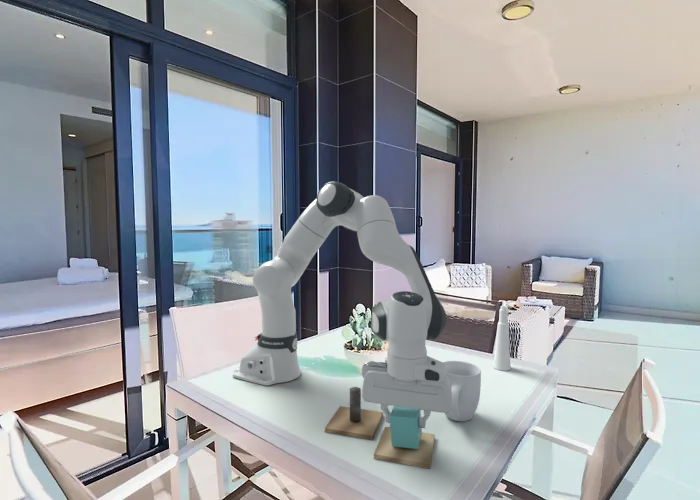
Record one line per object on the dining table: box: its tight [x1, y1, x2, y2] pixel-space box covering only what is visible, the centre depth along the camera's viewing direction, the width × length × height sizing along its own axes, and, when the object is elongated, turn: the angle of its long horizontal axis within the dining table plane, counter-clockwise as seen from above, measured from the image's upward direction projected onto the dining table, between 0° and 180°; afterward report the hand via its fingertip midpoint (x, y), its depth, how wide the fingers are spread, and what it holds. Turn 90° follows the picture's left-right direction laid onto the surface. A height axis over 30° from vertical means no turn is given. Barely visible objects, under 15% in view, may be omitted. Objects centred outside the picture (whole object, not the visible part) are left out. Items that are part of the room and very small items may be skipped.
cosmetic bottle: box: [492, 305, 512, 372], centre depth 138 cm, size 6×6×22 cm
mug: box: [443, 360, 482, 423], centre depth 103 cm, size 15×11×13 cm
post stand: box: [324, 386, 384, 441], centre depth 100 cm, size 12×12×9 cm
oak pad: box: [373, 426, 436, 469], centre depth 90 cm, size 12×12×1 cm
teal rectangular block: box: [389, 406, 423, 449], centre depth 90 cm, size 6×6×7 cm
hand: (405, 424), depth 90 cm, fingers closed on teal rectangular block, 6 cm apart
